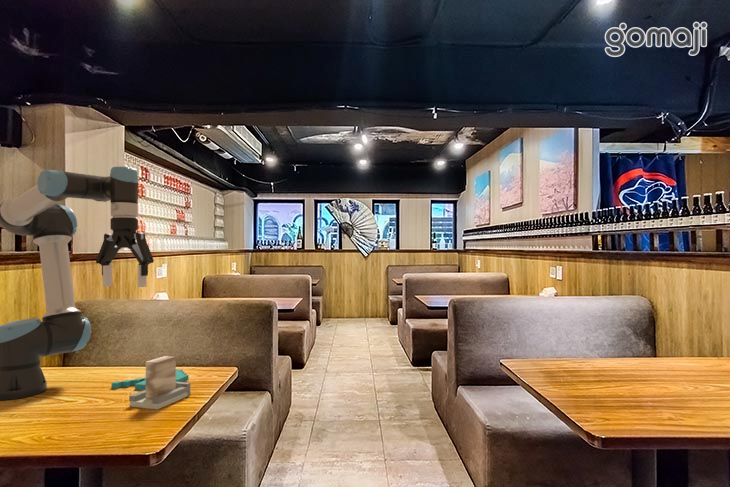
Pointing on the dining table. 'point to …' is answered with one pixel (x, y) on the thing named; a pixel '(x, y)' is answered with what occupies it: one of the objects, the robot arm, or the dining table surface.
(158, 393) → the beige rectangular block
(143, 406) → the groove board
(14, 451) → the dining table surface
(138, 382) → the alien figure
